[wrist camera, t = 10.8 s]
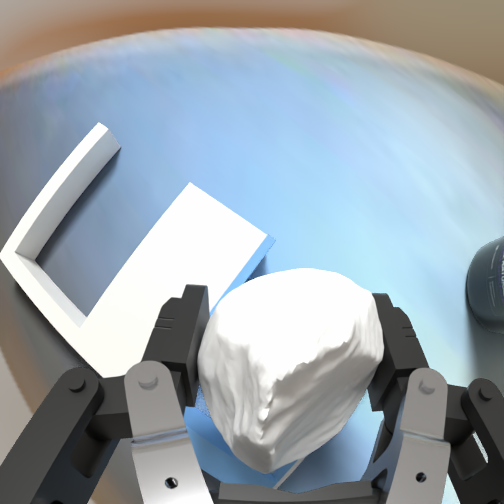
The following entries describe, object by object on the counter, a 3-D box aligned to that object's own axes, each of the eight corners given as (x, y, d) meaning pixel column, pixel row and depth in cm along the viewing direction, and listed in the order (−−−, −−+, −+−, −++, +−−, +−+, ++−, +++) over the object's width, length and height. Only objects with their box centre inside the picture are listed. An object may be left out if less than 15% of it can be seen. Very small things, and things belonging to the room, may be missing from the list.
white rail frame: (111, 140, 22) (93, 114, 19) (381, 329, 19) (405, 328, 15) (17, 265, 20) (-12, 255, 16) (265, 481, 16) (267, 507, 13)
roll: (375, 561, 4) (94, 466, 4) (299, 421, 15) (201, 379, 16) (503, 286, 5) (238, 158, 5) (346, 318, 16) (249, 276, 17)
